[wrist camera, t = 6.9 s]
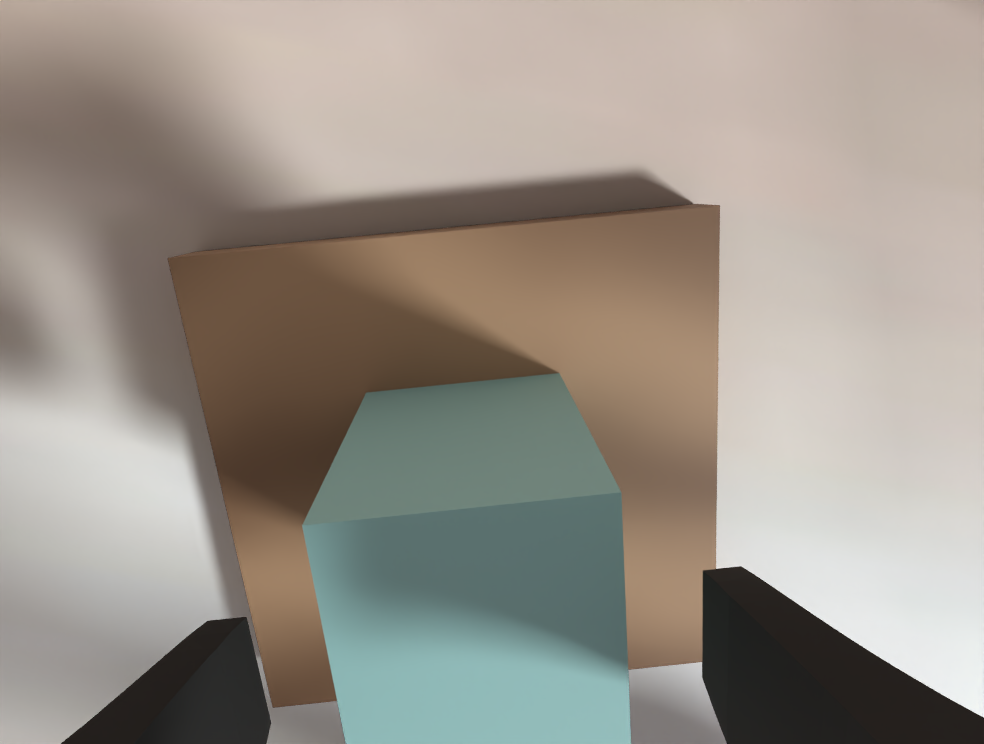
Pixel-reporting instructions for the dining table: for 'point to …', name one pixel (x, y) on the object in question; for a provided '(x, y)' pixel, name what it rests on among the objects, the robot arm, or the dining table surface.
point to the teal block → (473, 570)
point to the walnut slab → (459, 359)
